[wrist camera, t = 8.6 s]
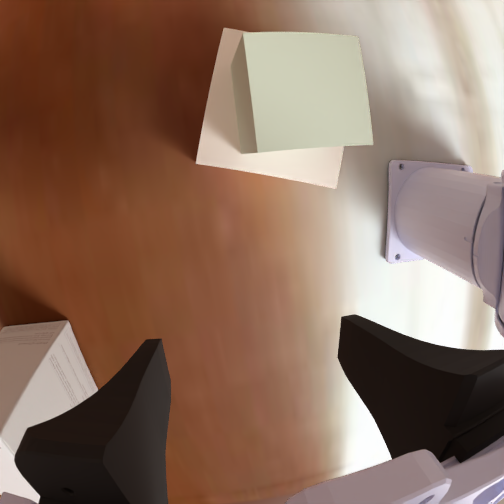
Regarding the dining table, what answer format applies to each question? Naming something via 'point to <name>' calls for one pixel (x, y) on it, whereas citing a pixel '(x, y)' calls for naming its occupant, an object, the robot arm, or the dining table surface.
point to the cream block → (227, 136)
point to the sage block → (300, 91)
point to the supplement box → (36, 388)
